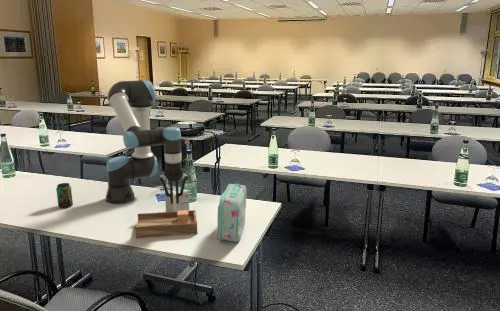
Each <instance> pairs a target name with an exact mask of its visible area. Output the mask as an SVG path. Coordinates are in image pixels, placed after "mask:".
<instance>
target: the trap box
mask: <svg viewBox="0 0 500 311" xmlns="http://www.w3.org/2000/svg"><path fill="white" fill-rule="evenodd" d="M196 212H197V211H196V210H195V209H191V210H190V209H189V210H188V216H189V222H183V223H178V214H177V211H173V212H166V211H160V212H145V213H137V223H136V226H135V227H134V236H135V237H134V238H135V239H146V238H159V237H161V238H162V237H169V236H171V237H172V236H174V237H175V236H187V235H197V234H198V220H197V214H196Z"/></svg>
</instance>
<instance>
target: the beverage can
mask: <svg viewBox="0 0 500 311" xmlns="http://www.w3.org/2000/svg"><path fill="white" fill-rule="evenodd" d="M55 191H56V198H57V205H58V207H59V208H61V209H67V208H71V207H72V206H73V205H74V201H73V194H72V187H71V184H70V183H67V182H62V183H59V184H57V187H56V189H55Z"/></svg>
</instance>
